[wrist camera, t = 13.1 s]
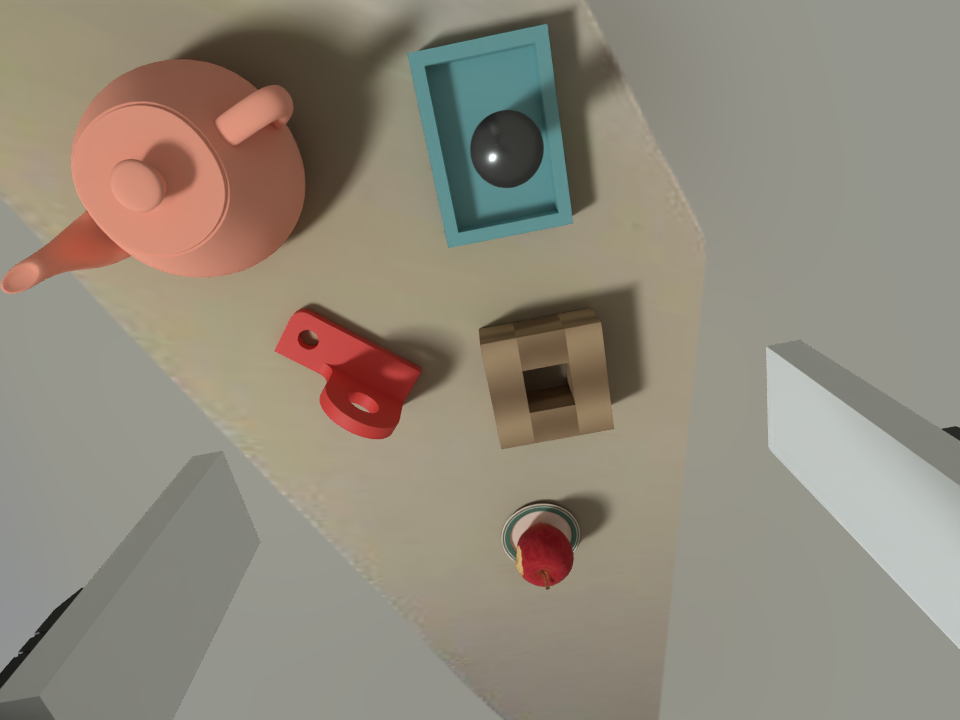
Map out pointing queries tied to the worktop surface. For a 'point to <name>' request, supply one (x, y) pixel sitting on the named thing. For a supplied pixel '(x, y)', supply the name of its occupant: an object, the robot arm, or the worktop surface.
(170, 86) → the teapot
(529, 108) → the tray
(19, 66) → the worktop surface
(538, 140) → the pin
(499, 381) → the block
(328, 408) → the bracket
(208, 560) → the robot arm
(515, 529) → the apple
